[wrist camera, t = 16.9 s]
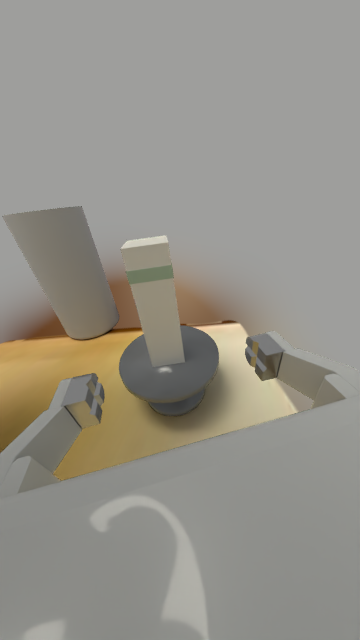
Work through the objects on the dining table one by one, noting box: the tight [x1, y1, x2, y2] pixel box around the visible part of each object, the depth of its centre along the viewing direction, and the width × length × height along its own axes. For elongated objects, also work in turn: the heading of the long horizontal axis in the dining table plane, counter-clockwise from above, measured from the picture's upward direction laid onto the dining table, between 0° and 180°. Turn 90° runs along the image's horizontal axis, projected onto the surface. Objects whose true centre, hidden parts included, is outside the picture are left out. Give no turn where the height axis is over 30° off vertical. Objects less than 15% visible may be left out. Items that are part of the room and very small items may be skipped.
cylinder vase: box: [2, 206, 119, 339], centre depth 40 cm, size 12×12×25 cm
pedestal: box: [119, 326, 219, 416], centre depth 27 cm, size 13×13×7 cm
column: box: [121, 236, 185, 367], centre depth 21 cm, size 4×4×14 cm
